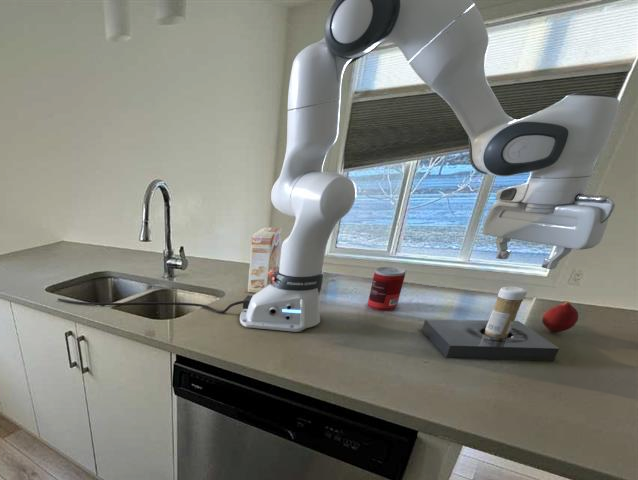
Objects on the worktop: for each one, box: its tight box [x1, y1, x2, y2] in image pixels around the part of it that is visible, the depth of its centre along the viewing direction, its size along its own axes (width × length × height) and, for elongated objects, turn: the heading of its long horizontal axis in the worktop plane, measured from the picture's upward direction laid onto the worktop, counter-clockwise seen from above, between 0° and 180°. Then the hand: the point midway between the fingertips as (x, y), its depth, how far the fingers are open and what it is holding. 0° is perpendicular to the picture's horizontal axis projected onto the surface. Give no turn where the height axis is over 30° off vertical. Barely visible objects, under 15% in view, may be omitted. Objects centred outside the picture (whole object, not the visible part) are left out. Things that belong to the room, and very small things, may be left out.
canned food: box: [367, 266, 407, 312], centre depth 119 cm, size 8×8×11 cm
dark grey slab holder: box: [421, 319, 560, 362], centre depth 96 cm, size 20×16×3 cm
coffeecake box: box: [247, 227, 283, 294], centre depth 142 cm, size 15×7×20 cm, turn 149°
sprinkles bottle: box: [484, 286, 528, 338], centre depth 93 cm, size 5×5×13 cm
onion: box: [542, 300, 579, 334], centre depth 97 cm, size 6×6×8 cm
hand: (523, 263), depth 86 cm, fingers open, 8 cm apart
